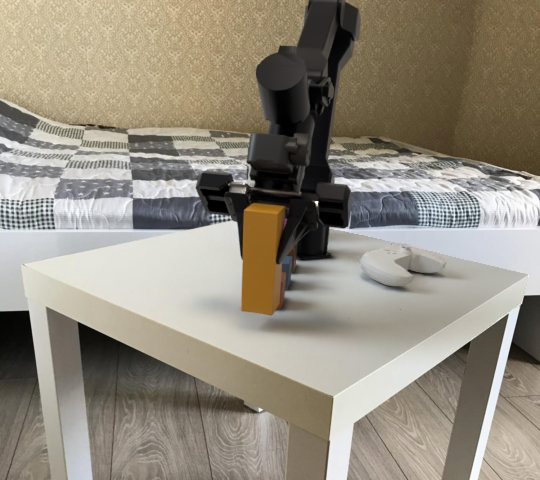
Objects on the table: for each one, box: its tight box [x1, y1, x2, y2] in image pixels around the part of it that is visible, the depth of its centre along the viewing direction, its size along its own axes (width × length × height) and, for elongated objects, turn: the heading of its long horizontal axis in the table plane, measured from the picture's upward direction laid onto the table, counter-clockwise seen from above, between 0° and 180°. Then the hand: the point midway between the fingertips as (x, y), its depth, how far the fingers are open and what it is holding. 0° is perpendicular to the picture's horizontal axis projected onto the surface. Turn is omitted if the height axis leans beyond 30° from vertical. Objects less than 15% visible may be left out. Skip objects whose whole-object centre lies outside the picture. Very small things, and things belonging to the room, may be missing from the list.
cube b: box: [282, 256, 292, 291], centre depth 86 cm, size 4×4×4 cm
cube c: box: [276, 272, 286, 310], centre depth 80 cm, size 4×4×4 cm
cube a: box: [287, 243, 298, 274], centre depth 93 cm, size 4×4×4 cm
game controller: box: [358, 242, 447, 287], centre depth 93 cm, size 14×4×10 cm
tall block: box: [240, 203, 286, 316], centre depth 70 cm, size 4×4×12 cm
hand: (259, 260), depth 68 cm, fingers closed on tall block, 4 cm apart
